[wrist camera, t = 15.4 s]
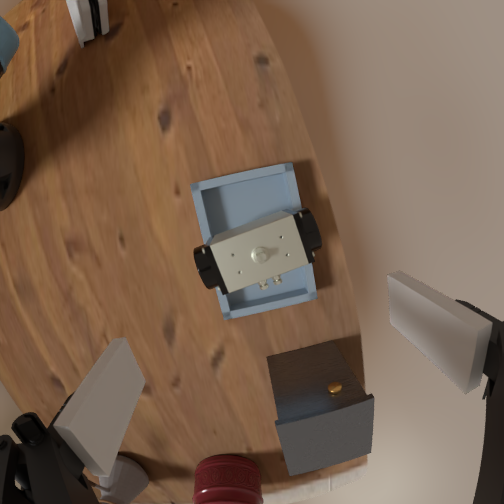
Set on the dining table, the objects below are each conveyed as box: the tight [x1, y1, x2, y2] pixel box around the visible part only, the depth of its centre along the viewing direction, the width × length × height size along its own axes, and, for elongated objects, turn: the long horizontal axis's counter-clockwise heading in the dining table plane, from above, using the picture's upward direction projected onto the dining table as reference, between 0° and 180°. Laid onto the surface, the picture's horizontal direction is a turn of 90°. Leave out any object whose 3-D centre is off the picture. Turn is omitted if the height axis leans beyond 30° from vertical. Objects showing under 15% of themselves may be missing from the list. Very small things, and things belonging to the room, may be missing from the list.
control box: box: [267, 340, 374, 476], centre depth 35 cm, size 11×11×15 cm
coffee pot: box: [88, 455, 149, 504], centre depth 37 cm, size 21×12×15 cm, turn 11°
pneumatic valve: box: [193, 207, 322, 295], centre depth 31 cm, size 6×12×12 cm, turn 110°
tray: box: [190, 162, 317, 320], centre depth 36 cm, size 17×12×3 cm
